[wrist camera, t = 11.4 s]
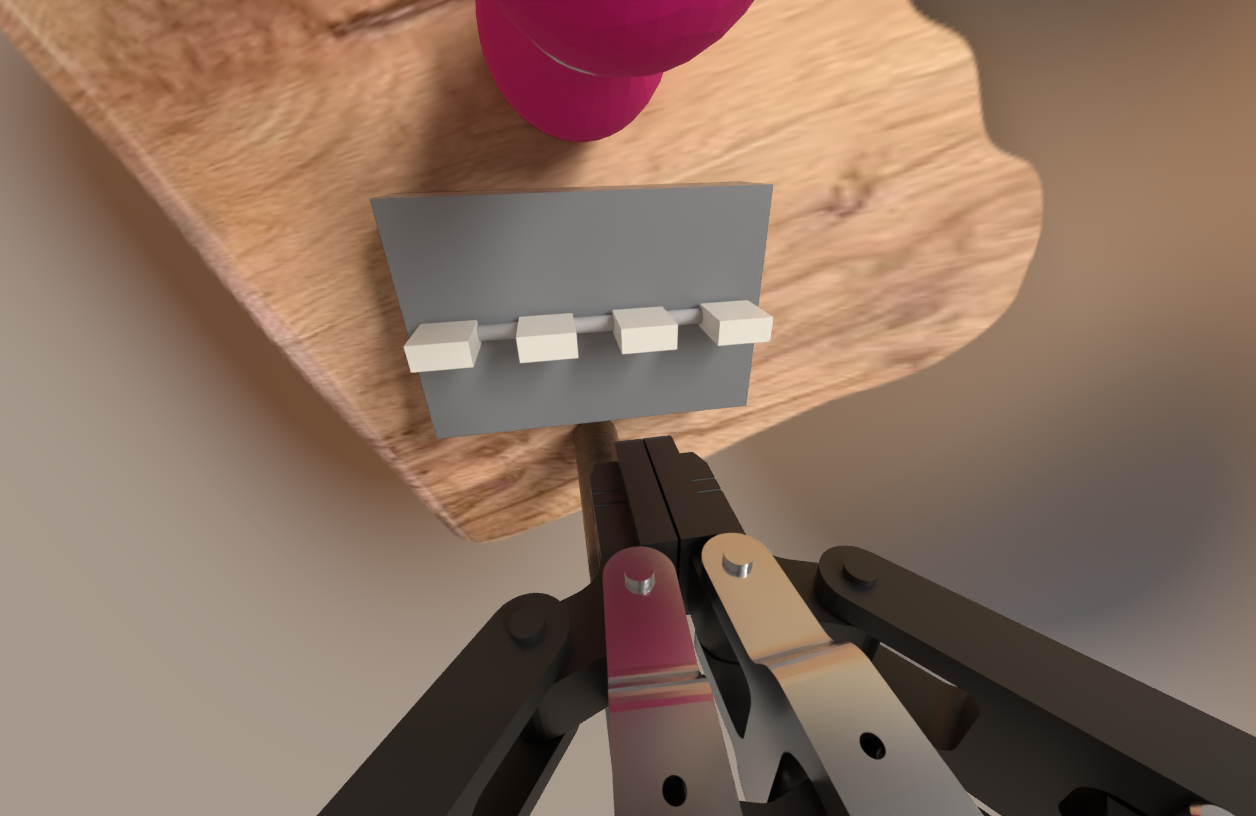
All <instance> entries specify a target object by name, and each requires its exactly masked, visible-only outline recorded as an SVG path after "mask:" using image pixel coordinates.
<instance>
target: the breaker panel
mask: <svg viewBox="0 0 1256 816" xmlns="http://www.w3.org/2000/svg"><path fill="white" fill-rule="evenodd" d="M772 190H773V184H762V183H750V182H717V183H688V184H659V185H631V186H602V187H573V188H544V189H515V190H486V191H457V192H429V193H400V194H392V195H387V196H382V197H377V198H372V199H370V202H371V205H372V209H373V212H374V216H375V220H376V223H377V227H378V230H379V234H380V237H381V241H382V245H383V248H384V252H385V255H386V259H387V262H388V266H389V269H390V273H391V277H392V280H393V284H394V287H395V291H396V294H397V298H398V302H399V305H400V309H401V312H402V316H403V319H404V323H405V327H406V330H407V334H408V337H409V339H410V337H411V336H412V335H413V333H414V332H415V331H416V329H417V328H418V327H419V325H420V324H427V323H441V322H455V321H468V320H477V322H478V325H481V324H494V323H508V322H518V321H519V317H523V316H537V315H550V314H564V313H572V314H573V318H575V317H588V316H602V315H612V310H619V309H632V308H646V307H660V306H662V307H663V308H664V309H665V310H666V311H669V310H682V309H695V308H700V304H701V303H714V302H728V301H742V300H748V301H750V302H751V303H753V304H754V305H756V306H757V307H758V305H759V297H760V289H761V281H762V272H763V264H764V256H765V248H766V240H767V231H768V223H769V215H770V207H771V198H772ZM576 335H577V346H578V358H573V359H562V360H550V361H539V362H527V363H520V360H519V354H518V347H517V341H516V339H503V340H491V341H481V343H482V344H481V347H480V349H479V352H478V355H477V358H476V361H475V364H474V367H470V368H459V369H447V370H436V371H424V372H418V373H419V377H420V380H421V384H422V387H423V391H424V394H425V398H426V401H427V405H428V409H429V412H430V416H431V419H432V423H433V426H434V430H435V434H436V437H437V439H440V438H450V437H459V436H468V435H478V434H487V433H496V432H506V431H515V430H524V429H534V428H543V427H552V426H562V425H571V424H580V423H589V422H599V421H608V420H617V419H627V418H636V417H645V416H655V415H664V414H673V413H683V412H692V411H701V410H710V409H720V408H729V407H738V406H746V404H747V395H748V387H749V379H750V371H751V363H752V354H753V346H754V343H745V344H734V345H722V346H718V345H717V344H716V343H715V342H714V341H713V340H712V339H711V338H710V337H709V336H708V335H707V334H706V333H705V332H704V331H703V330H702V329H701V328H700V327H699V324H692V325H679V326H678V337H677V349H676V350H665V351H653V352H642V353H631V354H622V353H621V350H620V348H619V346H618V343H617V341H616V339H615V336H614V334H613V331H604V332H591V333H579V334H576Z"/></svg>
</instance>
